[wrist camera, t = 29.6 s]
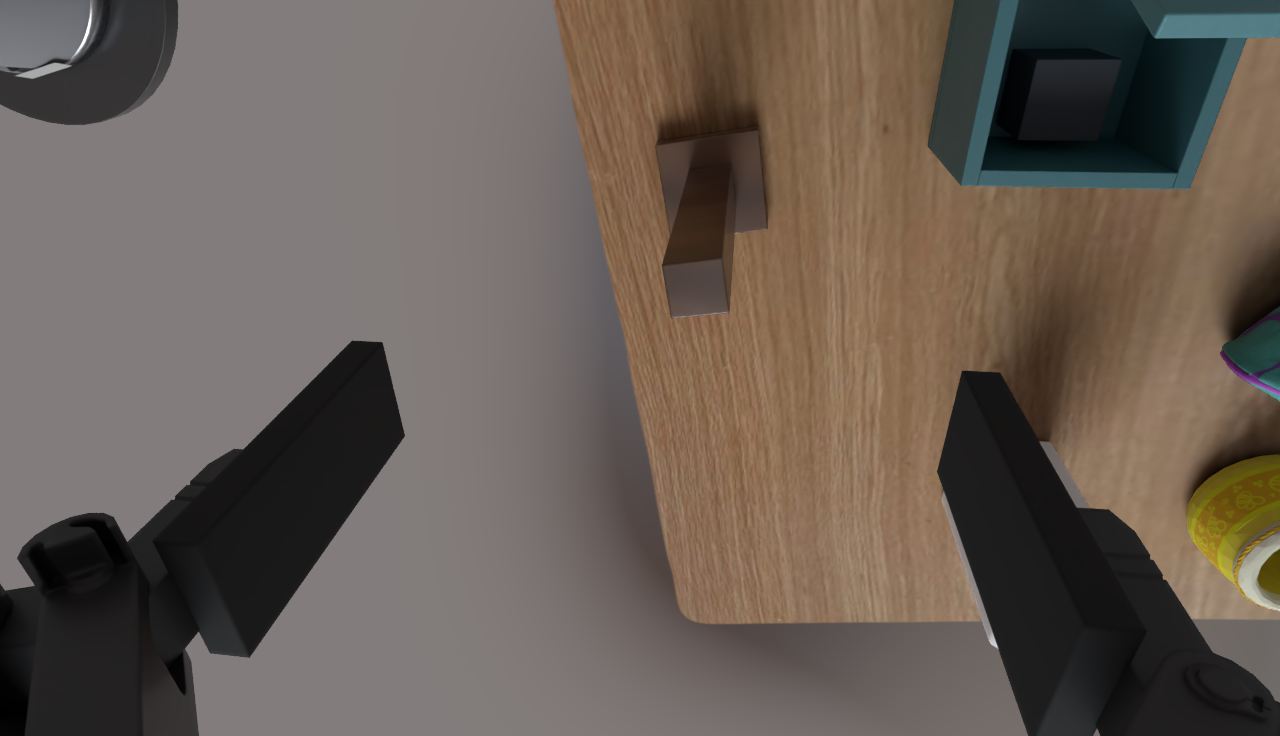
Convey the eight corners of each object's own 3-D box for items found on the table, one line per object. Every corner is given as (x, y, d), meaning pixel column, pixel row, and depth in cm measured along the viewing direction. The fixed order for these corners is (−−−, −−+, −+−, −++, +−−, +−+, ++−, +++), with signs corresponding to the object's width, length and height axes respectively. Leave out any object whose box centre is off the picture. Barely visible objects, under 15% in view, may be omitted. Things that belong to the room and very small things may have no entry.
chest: (1118, 148, 46) (1189, 189, 38) (927, 146, 47) (960, 185, 40) (1214, -155, 38) (1330, -178, 30) (981, -146, 39) (1035, -166, 32)
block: (995, 123, 45) (1017, 140, 41) (1012, 48, 43) (1037, 59, 39) (1069, 124, 45) (1097, 141, 41) (1090, 48, 42) (1123, 58, 39)
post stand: (657, 140, 49) (614, 231, 34) (758, 125, 48) (760, 212, 33) (672, 235, 53) (639, 356, 38) (767, 224, 51) (773, 344, 36)
